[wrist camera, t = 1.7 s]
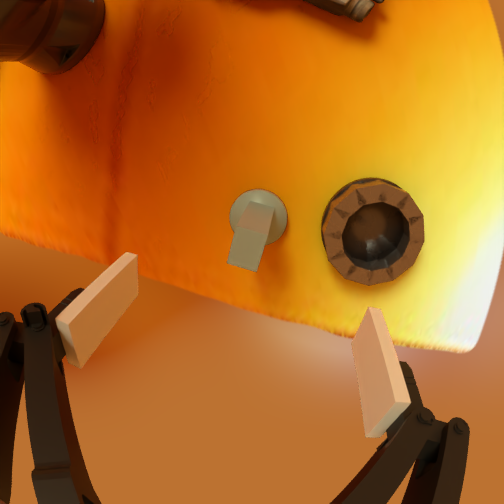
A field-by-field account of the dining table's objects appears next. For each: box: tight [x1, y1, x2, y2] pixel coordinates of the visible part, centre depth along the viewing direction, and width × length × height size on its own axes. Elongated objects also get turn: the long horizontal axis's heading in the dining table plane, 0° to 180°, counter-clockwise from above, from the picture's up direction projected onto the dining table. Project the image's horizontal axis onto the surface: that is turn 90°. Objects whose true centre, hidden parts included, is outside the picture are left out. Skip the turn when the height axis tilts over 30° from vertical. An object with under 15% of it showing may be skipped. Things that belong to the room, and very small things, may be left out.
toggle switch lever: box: [227, 189, 287, 272], centre depth 33 cm, size 7×7×10 cm
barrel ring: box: [321, 178, 424, 286], centre depth 34 cm, size 13×13×3 cm
